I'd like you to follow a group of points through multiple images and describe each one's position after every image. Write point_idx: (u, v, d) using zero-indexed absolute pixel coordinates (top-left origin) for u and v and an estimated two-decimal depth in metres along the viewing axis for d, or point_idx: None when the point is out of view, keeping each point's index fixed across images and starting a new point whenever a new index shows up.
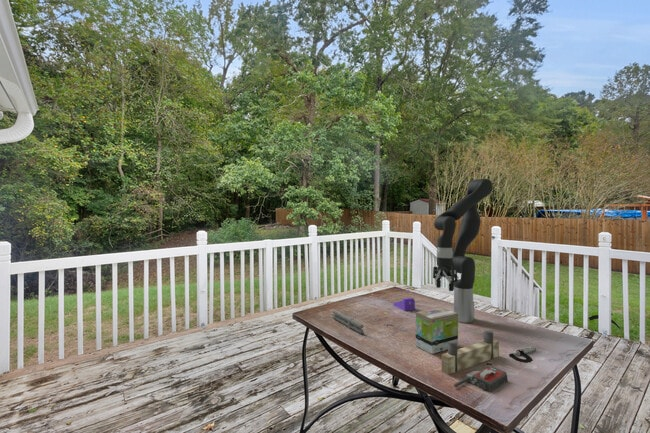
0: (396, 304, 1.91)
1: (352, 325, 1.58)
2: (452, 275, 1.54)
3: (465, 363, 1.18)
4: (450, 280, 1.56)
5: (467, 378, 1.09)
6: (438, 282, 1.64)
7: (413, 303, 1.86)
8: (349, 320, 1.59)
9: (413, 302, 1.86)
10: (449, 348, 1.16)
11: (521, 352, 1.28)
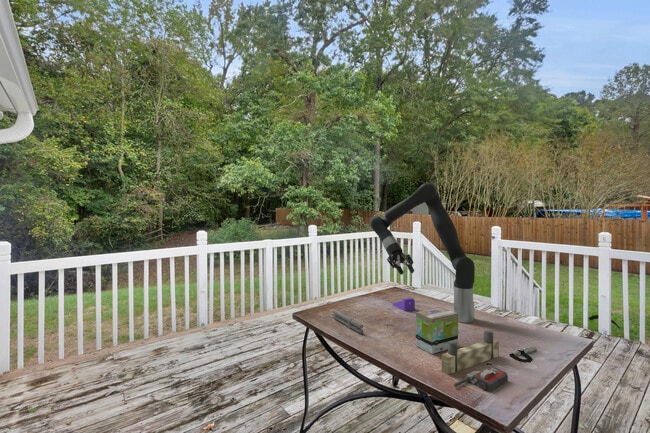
0: (396, 304, 1.91)
1: (352, 325, 1.58)
2: None
3: (465, 363, 1.18)
4: None
5: (467, 378, 1.09)
6: (409, 267, 1.64)
7: (413, 303, 1.86)
8: (349, 320, 1.59)
9: (413, 302, 1.85)
10: (449, 348, 1.16)
11: (521, 352, 1.28)
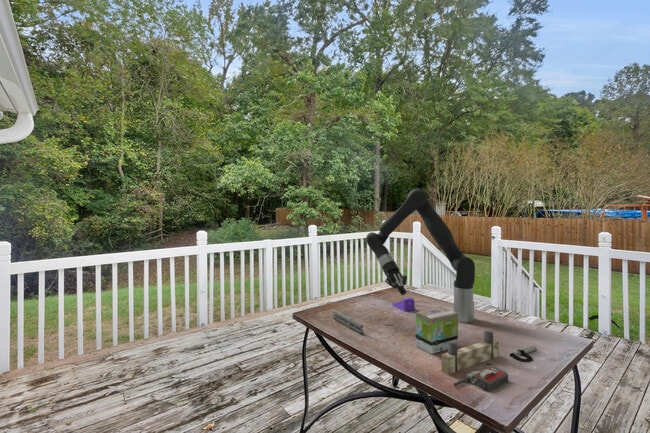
0: (396, 304, 1.91)
1: (352, 325, 1.58)
2: None
3: (465, 363, 1.18)
4: None
5: (467, 378, 1.09)
6: None
7: (413, 303, 1.85)
8: (349, 320, 1.59)
9: (413, 302, 1.85)
10: (449, 348, 1.16)
11: (522, 352, 1.28)
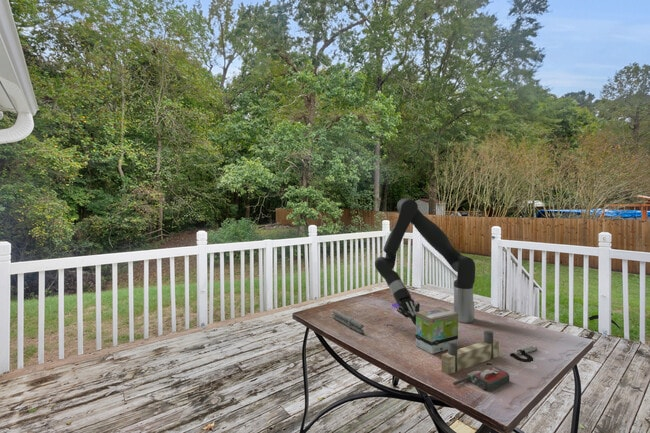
0: (395, 305, 1.90)
1: (352, 325, 1.58)
2: None
3: (465, 363, 1.18)
4: None
5: (468, 377, 1.09)
6: None
7: None
8: (349, 320, 1.59)
9: None
10: (449, 348, 1.16)
11: (522, 352, 1.28)
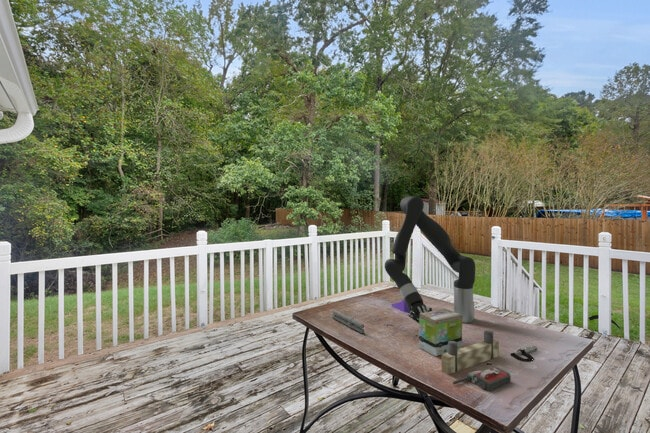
0: (395, 305, 1.89)
1: (353, 325, 1.58)
2: None
3: (465, 363, 1.18)
4: None
5: (468, 377, 1.10)
6: None
7: None
8: (349, 320, 1.59)
9: None
10: (449, 348, 1.16)
11: (522, 351, 1.28)
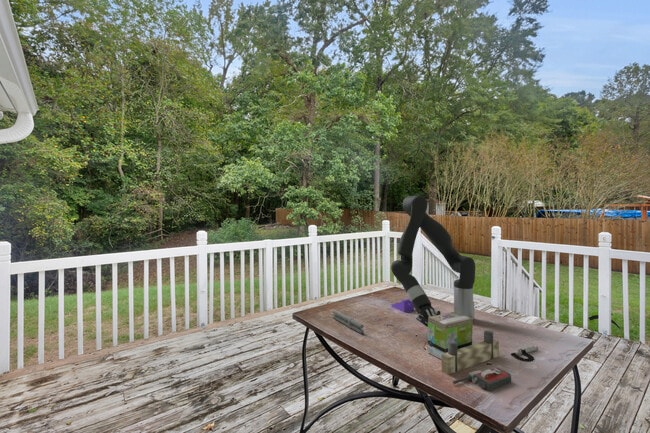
0: (395, 305, 1.89)
1: (352, 325, 1.58)
2: None
3: (465, 363, 1.18)
4: None
5: (468, 376, 1.10)
6: None
7: None
8: (349, 320, 1.59)
9: None
10: (449, 348, 1.16)
11: (523, 351, 1.28)
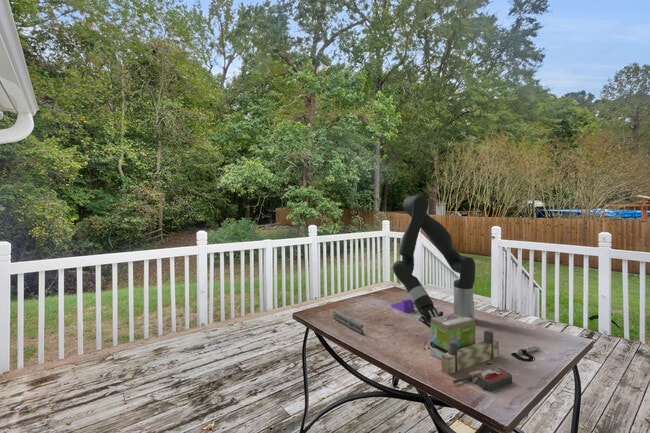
0: (394, 306, 1.89)
1: (352, 325, 1.58)
2: None
3: (465, 363, 1.18)
4: None
5: (469, 376, 1.10)
6: None
7: (413, 304, 1.84)
8: (349, 320, 1.59)
9: (412, 303, 1.84)
10: (449, 348, 1.16)
11: (523, 351, 1.28)
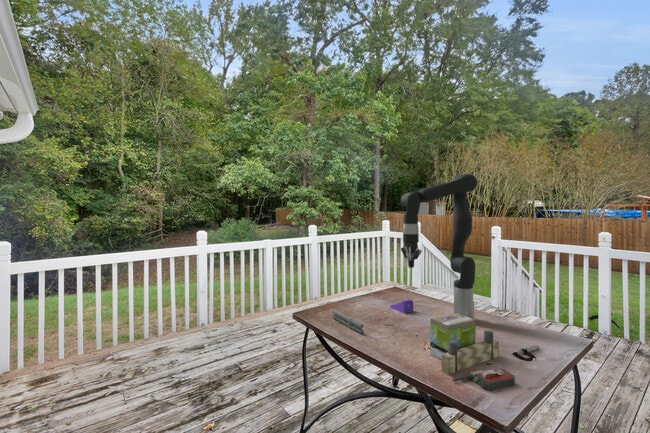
0: (394, 306, 1.87)
1: (352, 325, 1.58)
2: (415, 254, 1.56)
3: (465, 363, 1.18)
4: (411, 258, 1.59)
5: (470, 375, 1.10)
6: None
7: (412, 304, 1.83)
8: (349, 320, 1.59)
9: (412, 304, 1.82)
10: (449, 348, 1.16)
11: (524, 351, 1.29)
